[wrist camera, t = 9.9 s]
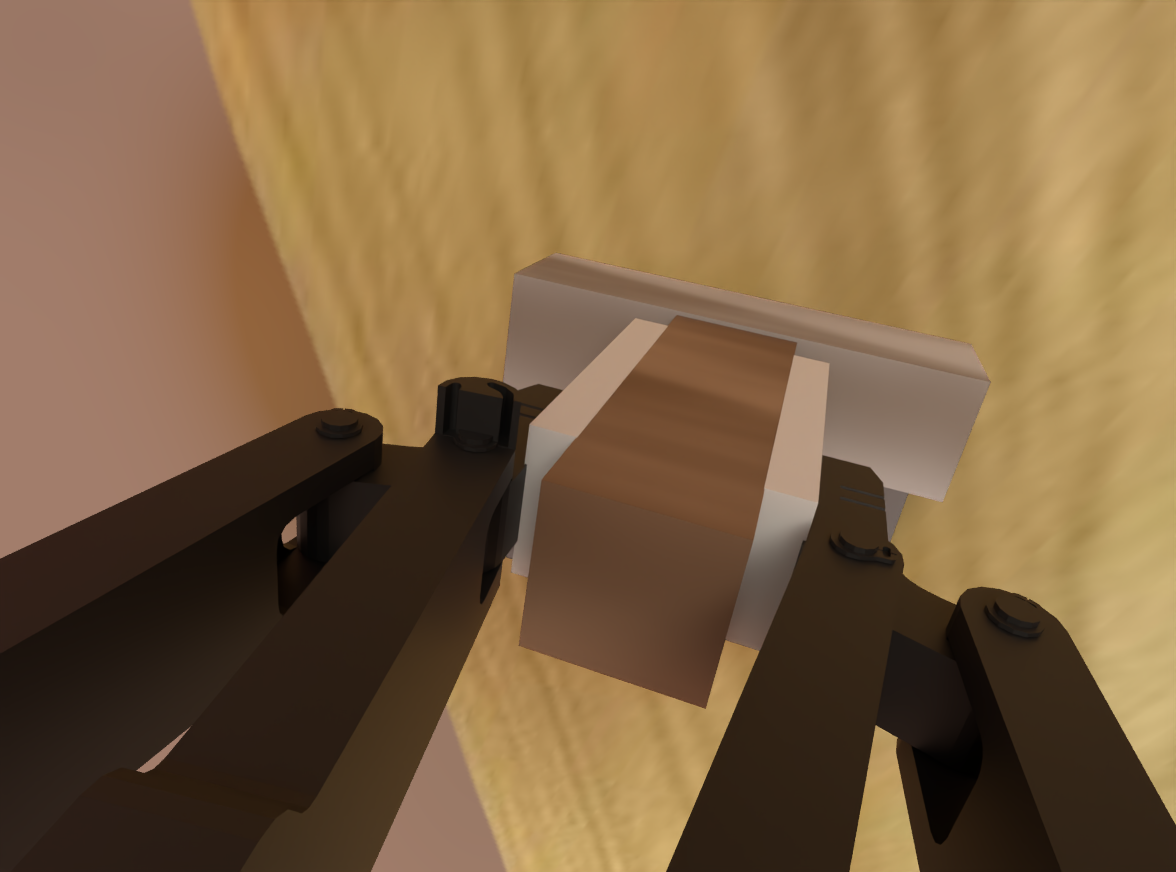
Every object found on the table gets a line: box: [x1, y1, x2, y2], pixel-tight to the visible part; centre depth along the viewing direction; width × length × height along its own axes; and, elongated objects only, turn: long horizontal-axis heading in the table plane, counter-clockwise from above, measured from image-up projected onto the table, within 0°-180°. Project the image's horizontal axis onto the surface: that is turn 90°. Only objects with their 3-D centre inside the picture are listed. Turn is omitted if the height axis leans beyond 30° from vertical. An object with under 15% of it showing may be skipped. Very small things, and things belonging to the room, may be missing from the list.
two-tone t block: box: [503, 253, 991, 709], centre depth 16 cm, size 3×11×12 cm, turn 82°
